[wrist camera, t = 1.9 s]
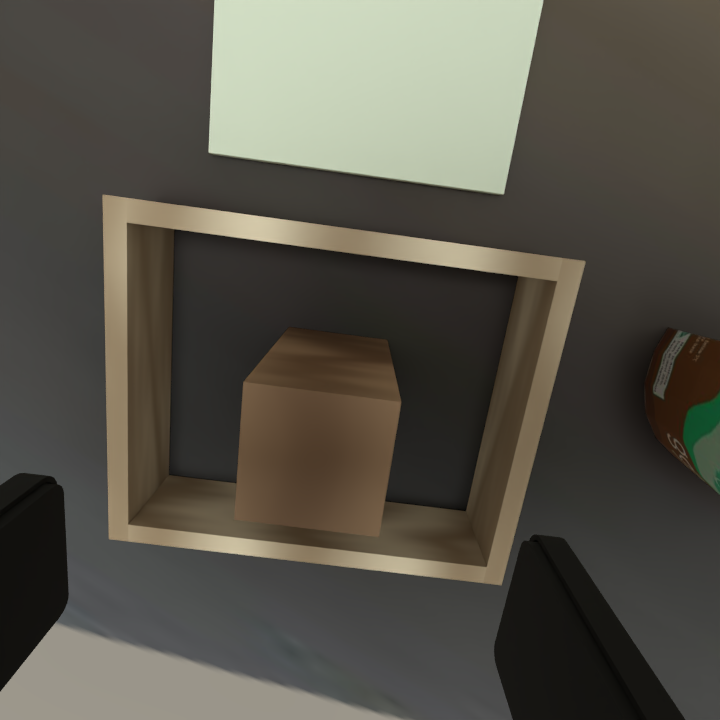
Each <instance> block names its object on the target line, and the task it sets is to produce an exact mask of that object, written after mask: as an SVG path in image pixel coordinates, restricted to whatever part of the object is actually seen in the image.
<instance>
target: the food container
mask: <svg viewBox="0 0 720 720" xmlns="http://www.w3.org/2000/svg"><path fill="white" fill-rule="evenodd" d="M644 383H645V413H646V415H647V418H648V420H649V422H650V425H651V427H652V430H653V432H654V434H655V437H656V438H657V439H658V440H659V441H660V442H661V444H662V445H663V446H664V447H665V448H666V449H667V450H668V451H669V452H670V453H671V454H672V455H673V456H675V457H676V458H677V459H678V460H679V461H681V462H682V463H683V464H684V465H685V466H686V467H688V468H689V469H690V470H691V471H692V472H694V473H695V474H696V475H697V476H698V477H699V478H701V479H702V480H703V481H704V482H705V483H706V484H708V485H709V486H710V487H711V488H712V489H714V490H715V491H716V492H717V493H718V494H719V495H720V341H718V340H715V339H711V338H707V337H703V336H699V335H695V334H691V333H687V332H683V331H680V330H676V329H672V328H668V329H667V330H666V332H665V334H664V335H663V337H662V339H661V340H660V342H659V343H658V345H657V347H656V348H655V350H654V353H653V356H652V359H651V363H650V366H649V369H648V372H647V376H646V379H645V382H644Z"/></svg>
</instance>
